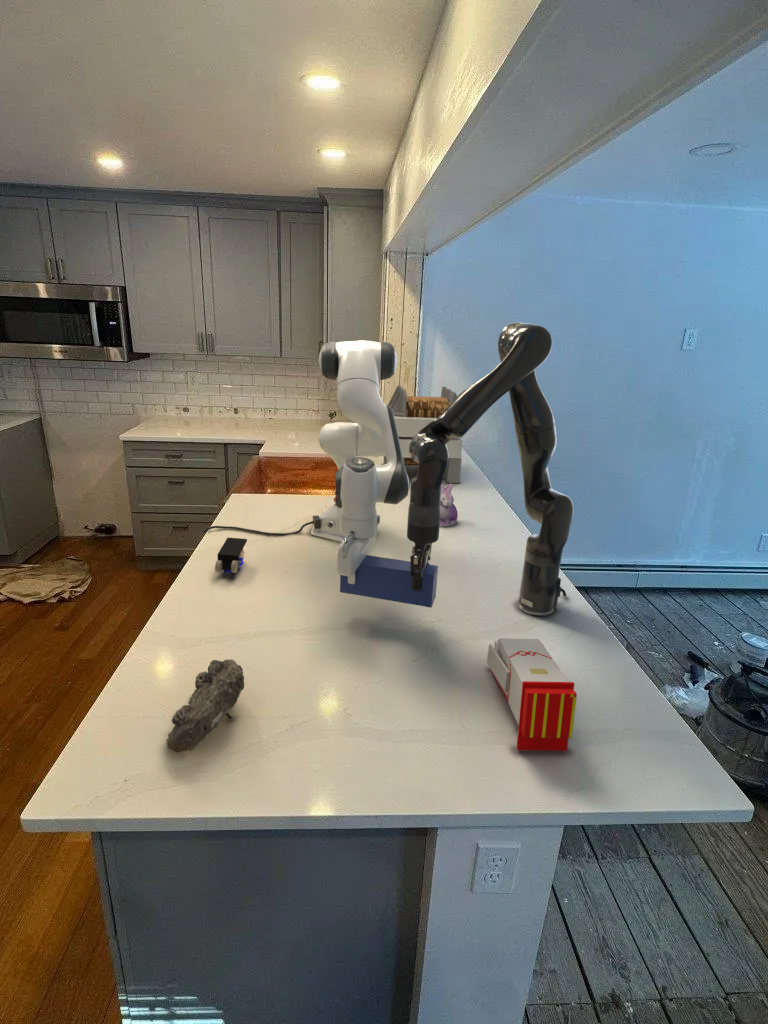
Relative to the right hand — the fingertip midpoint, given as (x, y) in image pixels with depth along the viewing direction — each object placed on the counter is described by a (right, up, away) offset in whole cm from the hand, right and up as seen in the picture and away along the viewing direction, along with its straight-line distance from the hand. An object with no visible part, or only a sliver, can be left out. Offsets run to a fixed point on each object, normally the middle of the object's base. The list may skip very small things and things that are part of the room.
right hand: (419, 584), depth 138 cm
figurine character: (-54, +1, +30) cm, 61 cm away
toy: (+20, -21, -22) cm, 36 cm away
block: (-8, -3, +3) cm, 9 cm away
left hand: (-16, +1, +4) cm, 16 cm away
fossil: (-41, -21, -30) cm, 55 cm away
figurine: (+15, +14, +74) cm, 77 cm away
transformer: (+9, +36, +137) cm, 142 cm away
